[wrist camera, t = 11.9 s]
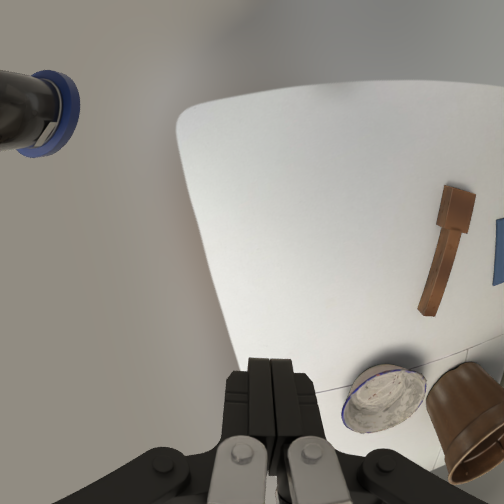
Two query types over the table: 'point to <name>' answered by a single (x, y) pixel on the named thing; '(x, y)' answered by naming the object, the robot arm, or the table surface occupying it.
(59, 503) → the robot arm
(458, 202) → the wooden mallet
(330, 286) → the table surface
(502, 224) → the cloth
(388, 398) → the bowl
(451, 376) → the plant pot
